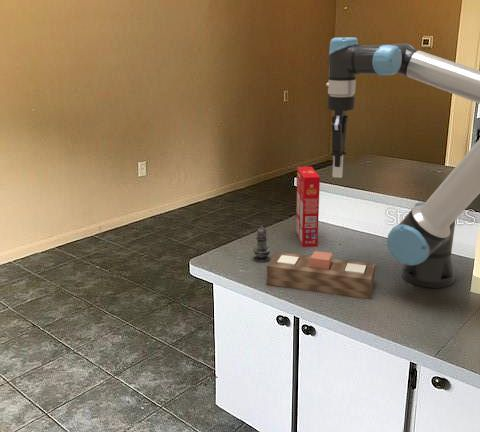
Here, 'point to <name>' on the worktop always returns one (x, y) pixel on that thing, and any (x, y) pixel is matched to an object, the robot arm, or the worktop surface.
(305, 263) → the mount
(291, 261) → the far button
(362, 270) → the near button
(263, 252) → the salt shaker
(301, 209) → the food packaging
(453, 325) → the worktop surface
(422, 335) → the worktop surface
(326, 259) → the middle button
